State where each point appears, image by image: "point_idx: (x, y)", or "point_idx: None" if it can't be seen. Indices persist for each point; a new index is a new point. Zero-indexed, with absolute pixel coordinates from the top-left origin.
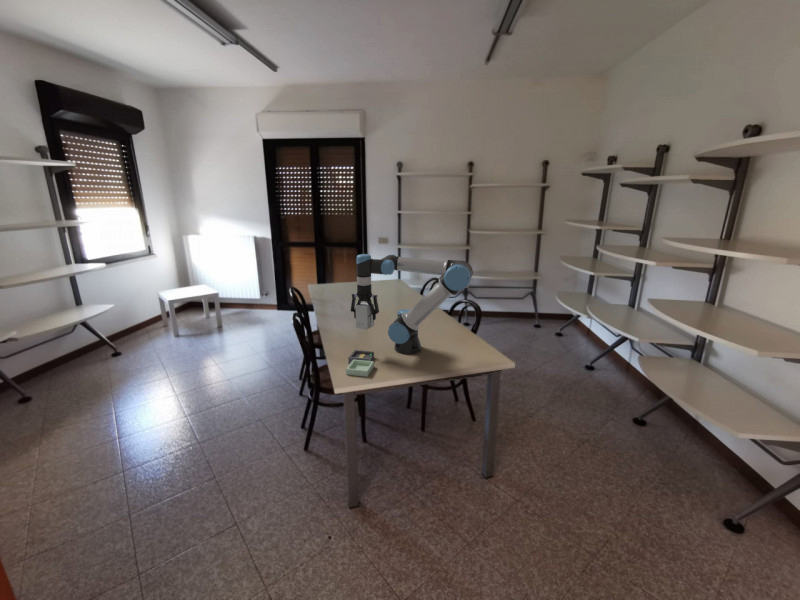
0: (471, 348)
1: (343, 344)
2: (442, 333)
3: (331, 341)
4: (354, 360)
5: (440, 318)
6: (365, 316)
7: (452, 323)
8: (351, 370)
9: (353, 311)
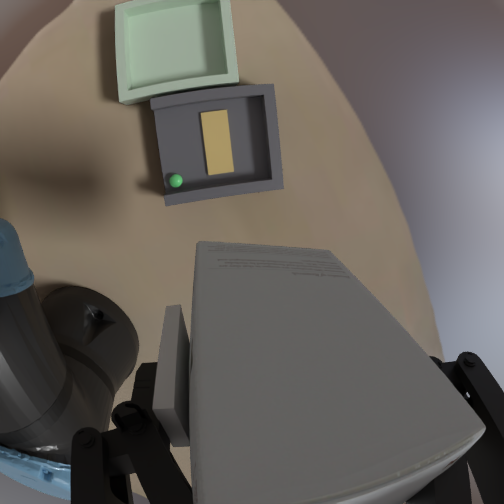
0: None
1: (367, 276)
2: None
3: (413, 281)
4: (227, 72)
5: None
6: (231, 334)
7: None
8: None
9: (444, 367)
